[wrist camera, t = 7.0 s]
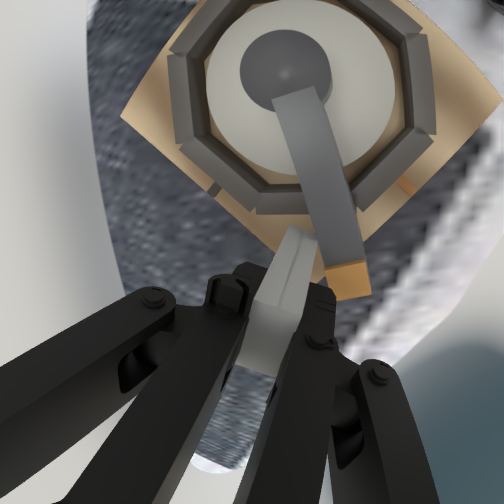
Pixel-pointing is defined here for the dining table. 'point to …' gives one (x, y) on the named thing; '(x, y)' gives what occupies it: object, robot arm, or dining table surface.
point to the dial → (307, 113)
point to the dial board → (358, 172)
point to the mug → (497, 5)
